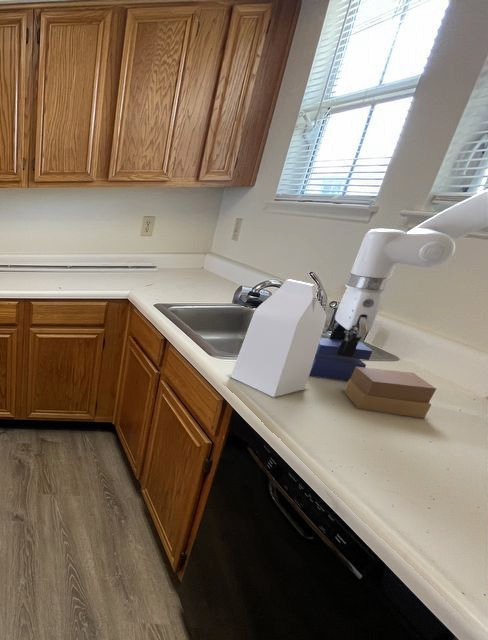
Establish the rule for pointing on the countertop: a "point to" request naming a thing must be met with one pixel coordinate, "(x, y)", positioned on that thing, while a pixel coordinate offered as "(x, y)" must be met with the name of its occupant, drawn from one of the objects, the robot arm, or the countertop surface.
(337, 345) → the navy book
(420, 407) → the tan books
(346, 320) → the robot arm
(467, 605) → the countertop surface
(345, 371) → the navy books
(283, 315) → the milk
